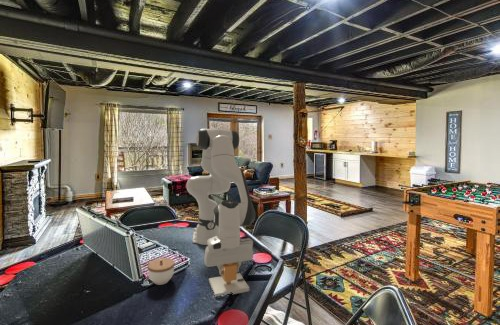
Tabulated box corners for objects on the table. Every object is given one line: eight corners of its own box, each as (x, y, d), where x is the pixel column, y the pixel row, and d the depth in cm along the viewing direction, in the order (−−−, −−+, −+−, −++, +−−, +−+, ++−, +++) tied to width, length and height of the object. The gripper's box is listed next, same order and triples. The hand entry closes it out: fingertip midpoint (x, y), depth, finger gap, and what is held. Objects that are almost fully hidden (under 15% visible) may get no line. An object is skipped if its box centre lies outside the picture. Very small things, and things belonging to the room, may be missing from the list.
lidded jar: (149, 290, 107) (149, 268, 106) (146, 277, 116) (146, 257, 115) (176, 284, 111) (176, 262, 111) (171, 272, 121) (171, 252, 120)
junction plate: (208, 281, 114) (208, 269, 113) (239, 276, 119) (240, 264, 118) (215, 297, 103) (215, 284, 102) (249, 291, 108) (249, 278, 107)
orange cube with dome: (221, 275, 112) (221, 260, 111) (232, 273, 113) (233, 258, 113) (224, 281, 107) (224, 265, 106) (236, 279, 109) (236, 263, 108)
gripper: (250, 234, 115) (249, 265, 117) (203, 240, 108) (203, 272, 109) (255, 240, 109) (255, 272, 111) (206, 246, 102) (206, 280, 104)
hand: (228, 272), depth 110 cm, fingers closed on orange cube with dome, 5 cm apart
